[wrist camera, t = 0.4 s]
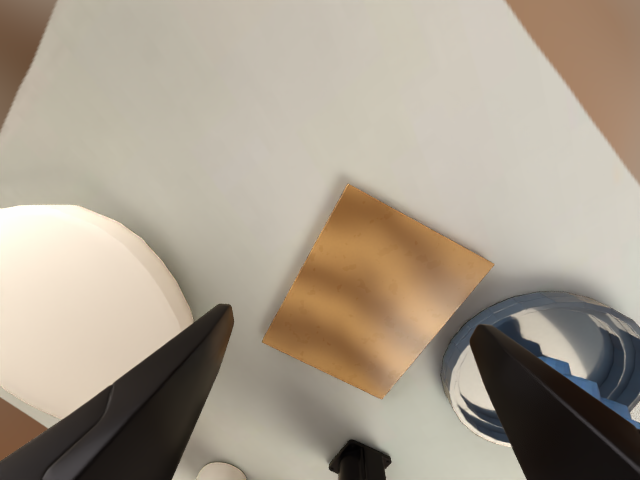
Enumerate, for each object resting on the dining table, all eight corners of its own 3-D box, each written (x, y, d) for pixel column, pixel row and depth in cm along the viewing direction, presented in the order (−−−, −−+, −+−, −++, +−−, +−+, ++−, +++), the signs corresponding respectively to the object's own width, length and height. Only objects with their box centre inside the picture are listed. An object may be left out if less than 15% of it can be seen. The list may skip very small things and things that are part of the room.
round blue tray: (536, 449, 29) (552, 471, 27) (408, 387, 28) (413, 405, 26) (670, 342, 24) (703, 359, 22) (519, 258, 22) (538, 267, 20)
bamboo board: (380, 392, 28) (381, 399, 27) (264, 336, 27) (261, 342, 26) (488, 260, 23) (495, 264, 22) (347, 183, 21) (348, 183, 20)
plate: (66, 461, 29) (-128, 298, 23) (117, 408, 35) (-28, 269, 29) (221, 409, 20) (-30, 132, 15) (253, 351, 26) (83, 141, 21)
